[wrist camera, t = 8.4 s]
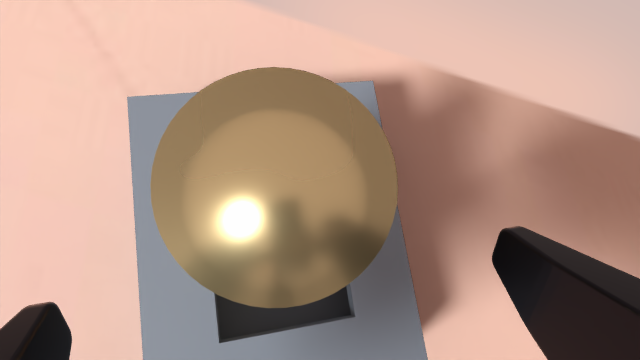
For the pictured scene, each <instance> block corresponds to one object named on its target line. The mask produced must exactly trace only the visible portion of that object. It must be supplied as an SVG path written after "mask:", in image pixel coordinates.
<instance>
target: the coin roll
mask: <svg viewBox="0 0 640 360" xmlns="http://www.w3.org/2000/svg"><path fill="white" fill-rule="evenodd" d="M150 188H151V203H152V209H153V214H154V218H155V221H156V224H157V227H158V230H159V233H160V235H161V237H162V239H163V241H164V243H165V245H166V247H167V249H168V250H169V252H170V253H171V254H172V256H173V257H174V259H175V260H176V262H177V263H178V264H179V265H180V266H181V267H182V268H183V269H184V270H185V271H186V272H187V273H188V275H189V276H191V277H192V278H193V279H194V280H196V281H197V282H198V283H199V284H201V285H202V286H203V287H205V288H207V289H209V290H210V291H212V292H214V293H215V294H217V295H219V296H221V297H224V298H226V299H229V300H231V301H233V302H237V303H241V304H245V305H248V306H254V307H263V308H287V307H294V306H301V305H305V304H308V303H311V302H315V301H318V300H321V299H323V298H325V297H327V296H329V295H332V294H334V293H335V292H337V291H339V290H340V289H342V288H344V287H345V286H347V285H348V284H349V283H351V282H352V281H353V280H354V279H355V278H357V277H358V276H359V275H360V274H361V273H362V272H363V271H364V270H365V269H366V268H367V267H368V266H369V265H370V264H371V262H372V261H373V260H374V258H375V257H376V255H377V254H378V253H379V251H380V250H381V248H382V246H383V244H384V242H385V240H386V238H387V236H388V234H389V231H390V229H391V226H392V223H393V220H394V215H395V211H396V206H397V196H398V181H397V171H396V165H395V160H394V157H393V153H392V150H391V147H390V145H389V142H388V140H387V138H386V136H385V134H384V132H383V130H382V128H381V127H380V125H379V124H378V122H377V120H376V119H375V118H374V116H373V115H372V114H371V113H370V111H369V110H368V109H367V108H366V107H365V106H364V105H363V104H362V103H361V102H360V101H359V100H358V99H357V98H356V97H355V96H353V95H352V94H351V93H349V92H348V91H347V90H345V89H344V88H342V87H341V86H339V85H337V84H336V83H334V82H332V81H330V80H328V79H326V78H323V77H321V76H319V75H316V74H312V73H309V72H306V71H302V70H296V69H291V68H278V67H270V68H257V69H251V70H246V71H242V72H238V73H235V74H232V75H229V76H227V77H224V78H222V79H220V80H218V81H216V82H214V83H212V84H210V85H209V86H207V87H206V88H204V89H202V90H201V91H200V92H198V93H197V94H196V95H195V96H193V97H192V98H191V99H190V100H189V101H188V102H187V103H186V104H185V105H184V106H183V107H182V108H181V109H180V110H179V111H178V112H177V114H176V115H175V116H174V118H173V119H172V120H171V122H170V123H169V125H168V127H167V128H166V130H165V132H164V134H163V136H162V137H161V140H160V143H159V145H158V148H157V150H156V153H155V157H154V161H153V166H152V172H151V183H150Z"/></svg>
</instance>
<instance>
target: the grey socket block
mask: <svg viewBox="0 0 640 360" xmlns="http://www.w3.org/2000/svg"><path fill="white" fill-rule="evenodd" d="M336 84H337V85H339V86H341V87H342V88H344V89H345V90H347V91H348V92H349V93H351V94H352V95H353V96H355V97H356V98H357V99H358V100H359V101H360V102H361V103H362V104H363V105H364V106H365V107H366V108H367V109H368V110H369V111H370V113H371V114H372V115H373V116H374V118H375V119H376V120H377V122H378V124H379V125H380V127H381V128H382V125H381V120H380V115H379V109H378V104H377V99H376V94H375V89H374V84H373V81H361V82H346V83H336ZM197 93H198V92H194V93H179V94H164V95H149V96H134V97H127V100H128V117H129V133H130V150H131V167H132V183H133V200H134V216H135V233H136V250H137V266H138V283H139V300H140V316H141V333H142V349H143V360H428V358H427V353H426V348H425V343H424V338H423V333H422V328H421V323H420V318H419V313H418V308H417V302H416V297H415V292H414V287H413V282H412V277H411V272H410V267H409V262H408V257H407V252H406V247H405V242H404V236H403V231H402V226H401V221H400V216H399V211H398V206H396V211H395V215H394V220H393V223H392V226H391V229H390V231H389V234H388V236H387V238H386V240H385V242H384V244H383V246H382V248H381V250H380V251H379V253H378V254H377V255H376V257H375V258H374V260H373V261H372V262H371V264H370V265H369V266H368V267H367V268H366V269H365V270H364V271H363V272H362V273H361V274H360V275H359V276H358V277H357V278H355V279H354V280H353V281H352V282H351V283H349V284H348V285H347V286H345V287H344V288H342V289H340V290H339V291H337V292H335V293H334V294H332V295H329V296H327V297H325V298H323V299H321V300H318V301H315V302H311V303H308V304H305V305H301V306H294V307H287V308H263V307H254V306H248V305H245V304H241V303H237V302H233V301H231V300H229V299H226V298H224V297H221V296H219V295H217V294H215V293H214V292H212V291H210V290H209V289H207V288H205V287H203V286H202V285H201V284H199V283H198V282H197V281H196V280H194V279H193V278H192V277H191V276H189V275H188V273H187V272H186V271H185V270H184V269H183V268H182V267H181V266H180V265H179V264H178V263H177V262H176V260H175V259H174V257H173V256H172V254H171V253H170V252H169V250H168V249H167V247H166V245H165V243H164V241H163V239H162V237H161V235H160V233H159V230H158V227H157V224H156V221H155V218H154V214H153V209H152V203H151V188H150V183H151V172H152V166H153V161H154V157H155V153H156V150H157V148H158V145H159V143H160V140H161V137H162V136H163V134H164V132H165V130H166V128H167V127H168V125H169V123H170V122H171V120H172V119H173V118H174V116H175V115H176V114H177V112H178V111H179V110H180V109H181V108H182V107H183V106H184V105H185V104H186V103H187V102H188V101H189V100H190V99H191V98H192V97H193V96H195V95H196V94H197Z"/></svg>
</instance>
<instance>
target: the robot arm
mask: <svg viewBox="0 0 640 360" xmlns="http://www.w3.org/2000/svg"><path fill="white" fill-rule="evenodd" d="M492 262H493V265H494V268H495V269H496V271H497V273H498V275H499V277H500V279H501V281H502V283H503V285H504V286H505V288H506V290H507V292H508V294H509V296H510V298H511V300H512V301H513V303H514V305H515V307H516V309H517V311H518V313H519V315H520V317H521V318H522V320H523V322H524V324H525V325H526V327H527V329H528V330H529V332H530V334H531V335H532V337H533V338H534V340H535V341H536V343H537V344H538V346H539V347H540V349H541V350H542V352H543V353H544V355H545V356H546V358H547V360H640V279H639V278H637V277H634V276H632V275H630V274H628V273H625V272H623V271H621V270H619V269H616V268H614V267H612V266H610V265H607V264H605V263H603V262H601V261H598V260H596V259H594V258H591V257H589V256H587V255H585V254H582V253H580V252H578V251H576V250H573V249H571V248H569V247H567V246H564V245H562V244H560V243H558V242H555V241H553V240H551V239H549V238H546V237H544V236H542V235H540V234H537V233H535V232H533V231H531V230H528V229H526V228H524V227H520V226H516V227H510V228H505V229H503V230H502V231H501V232H500V233H499V236H498V239H497V242H496V245H495V248H494V251H493V255H492ZM71 344H72V336H71V331H70V329H69V327H68V325H67V323H66V321H65V319H64V317H63V315H62V313H61V311H60V309H59V307H58V306H57V305H56V304H55V303H53V302H46V303H40V304H34V305H29V306H27V307H25V308H23V309H22V310H21V311H20V312H19V313H18V314H17V315H15V316H14V317H13V318H12V319H11V320H10V321H9V322H8V323H6V324H5V325H4V326H3V327H2V328H1V329H0V360H69V357H70V350H71Z"/></svg>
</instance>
